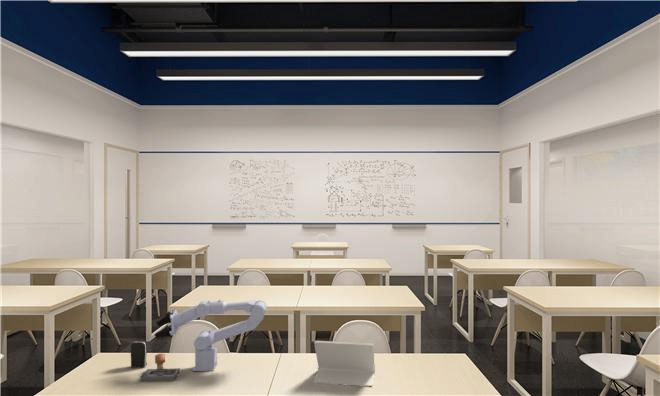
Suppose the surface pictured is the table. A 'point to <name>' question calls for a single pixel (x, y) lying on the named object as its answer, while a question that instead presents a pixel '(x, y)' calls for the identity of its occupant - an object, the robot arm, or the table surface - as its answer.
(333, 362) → the tablet stand
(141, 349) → the battery charger
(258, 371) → the table surface
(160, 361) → the peg
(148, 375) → the keyhole plate
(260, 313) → the robot arm
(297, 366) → the table surface
